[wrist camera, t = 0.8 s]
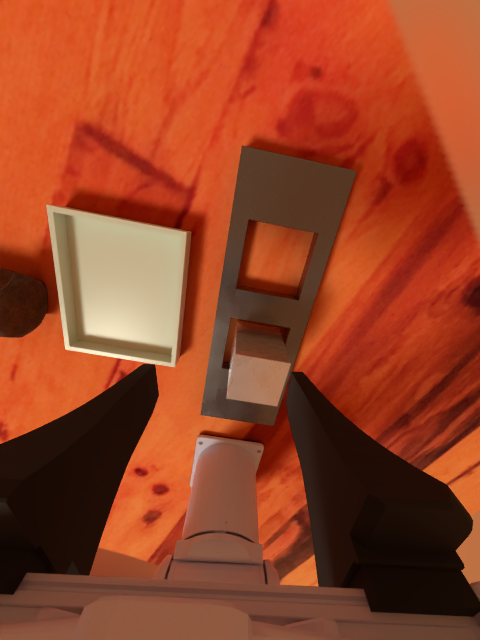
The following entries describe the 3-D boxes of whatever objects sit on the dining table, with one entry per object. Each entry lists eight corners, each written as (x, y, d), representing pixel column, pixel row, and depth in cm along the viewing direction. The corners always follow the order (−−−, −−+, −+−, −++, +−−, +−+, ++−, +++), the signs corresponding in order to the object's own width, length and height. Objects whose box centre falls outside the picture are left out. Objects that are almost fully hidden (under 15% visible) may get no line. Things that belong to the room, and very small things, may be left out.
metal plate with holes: (272, 417, 26) (273, 426, 25) (202, 406, 25) (200, 414, 24) (349, 174, 17) (357, 170, 16) (242, 151, 16) (241, 145, 15)
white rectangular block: (269, 362, 23) (277, 406, 18) (230, 356, 23) (226, 398, 17) (278, 327, 22) (290, 363, 16) (237, 320, 21) (235, 354, 16)
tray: (179, 356, 23) (175, 367, 21) (78, 340, 22) (65, 349, 21) (192, 231, 18) (186, 232, 17) (64, 206, 18) (46, 204, 16)
